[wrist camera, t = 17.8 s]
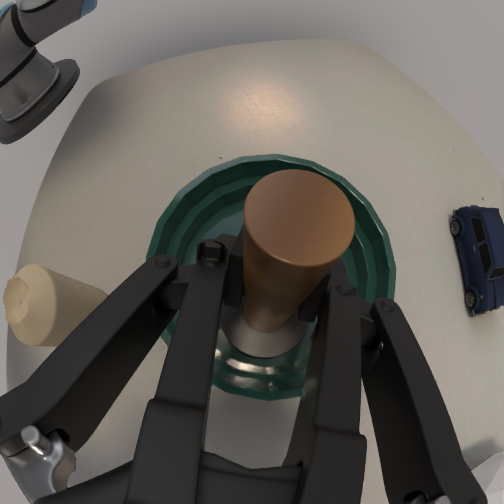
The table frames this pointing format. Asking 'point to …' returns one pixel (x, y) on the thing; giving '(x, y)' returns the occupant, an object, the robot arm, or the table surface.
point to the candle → (47, 305)
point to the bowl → (230, 222)
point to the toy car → (481, 256)
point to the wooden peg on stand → (285, 258)
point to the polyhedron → (492, 478)
